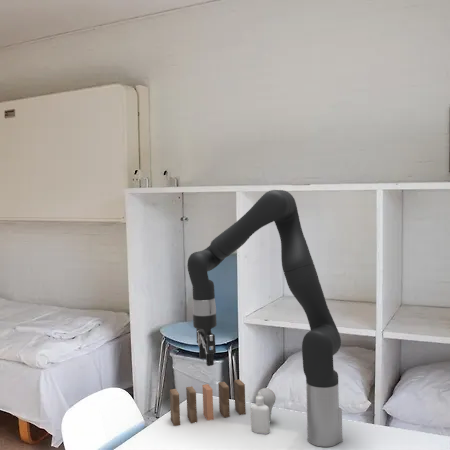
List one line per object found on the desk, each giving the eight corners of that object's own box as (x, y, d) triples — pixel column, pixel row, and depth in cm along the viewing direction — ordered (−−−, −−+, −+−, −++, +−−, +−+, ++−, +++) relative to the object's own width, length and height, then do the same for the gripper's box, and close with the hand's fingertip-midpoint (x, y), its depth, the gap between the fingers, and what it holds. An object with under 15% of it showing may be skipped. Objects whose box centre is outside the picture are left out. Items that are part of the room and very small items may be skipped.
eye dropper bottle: (260, 426, 166) (259, 388, 166) (272, 432, 162) (270, 393, 161) (249, 430, 164) (248, 391, 163) (260, 436, 159) (259, 397, 159)
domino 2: (193, 416, 176) (192, 386, 175) (197, 422, 171) (195, 391, 170) (187, 417, 175) (186, 387, 174) (191, 423, 170) (189, 392, 170)
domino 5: (240, 408, 181) (239, 379, 180) (245, 414, 176) (244, 384, 175) (235, 409, 180) (234, 380, 179) (239, 415, 175) (238, 385, 175)
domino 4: (225, 410, 179) (224, 381, 178) (229, 416, 174) (228, 386, 173) (219, 411, 178) (218, 382, 178) (223, 417, 174) (222, 387, 173)
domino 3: (209, 413, 177) (208, 384, 177) (213, 419, 172) (212, 389, 172) (203, 414, 177) (202, 384, 176) (207, 420, 172) (206, 390, 171)
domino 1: (176, 418, 174) (175, 388, 173) (180, 425, 169) (179, 394, 169) (170, 419, 173) (169, 389, 173) (174, 426, 169) (172, 395, 168)
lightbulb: (263, 416, 173) (262, 383, 172) (279, 421, 170) (278, 387, 169) (253, 423, 168) (252, 389, 167) (269, 428, 165) (268, 393, 164)
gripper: (222, 315, 167) (224, 366, 168) (209, 306, 180) (211, 354, 181) (198, 318, 164) (201, 369, 165) (187, 309, 178) (190, 357, 179)
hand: (206, 361), depth 173 cm, fingers open, 8 cm apart
